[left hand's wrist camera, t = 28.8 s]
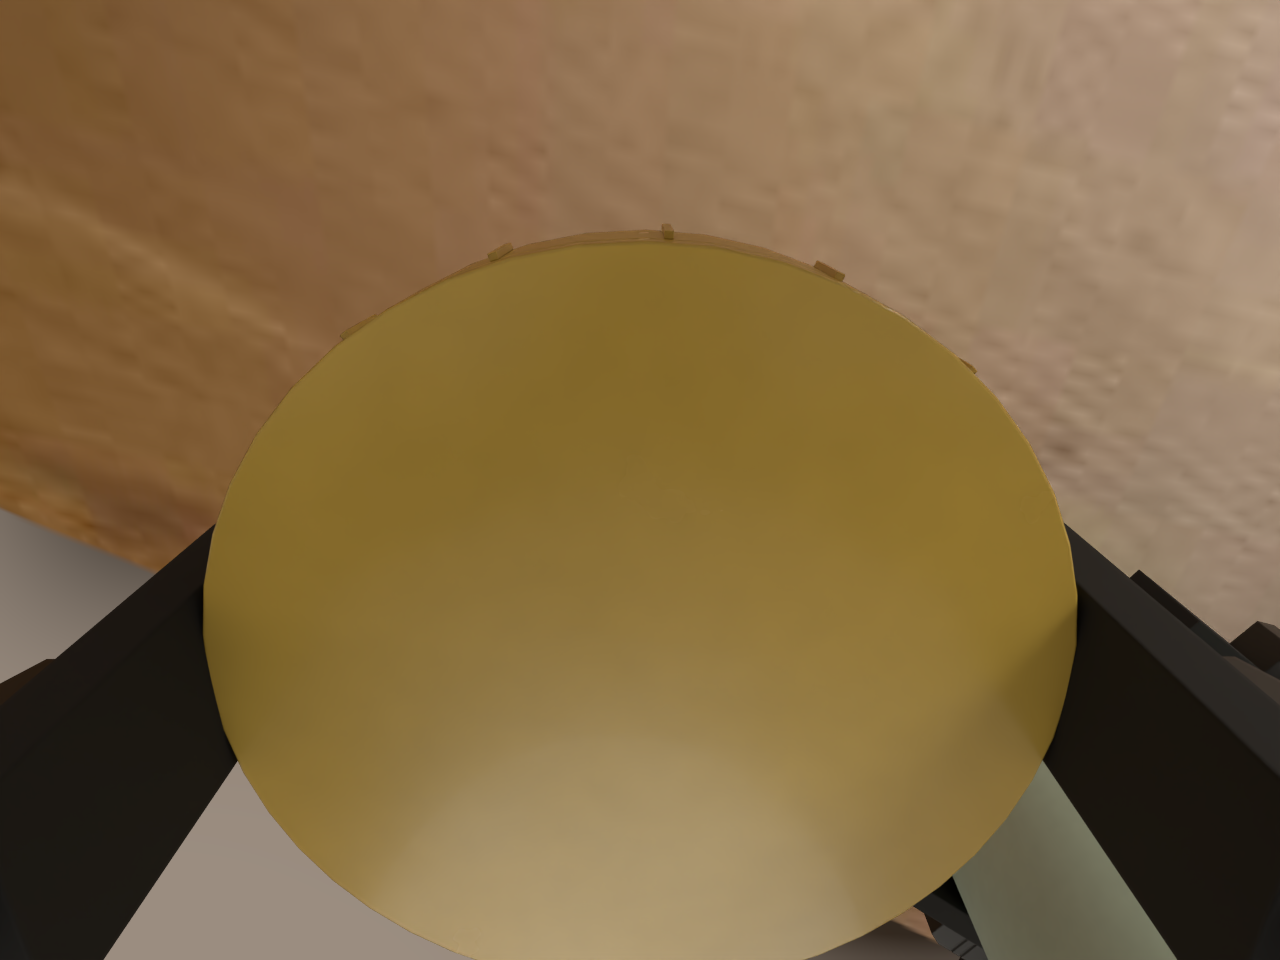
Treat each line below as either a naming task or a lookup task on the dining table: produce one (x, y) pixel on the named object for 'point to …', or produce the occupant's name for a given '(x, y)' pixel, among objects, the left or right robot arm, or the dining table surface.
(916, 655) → the lid
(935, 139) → the dining table surface
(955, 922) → the right robot arm
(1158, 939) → the jar
